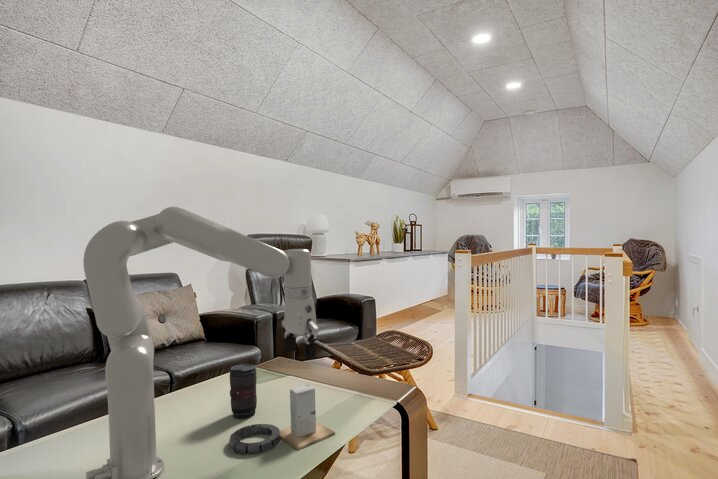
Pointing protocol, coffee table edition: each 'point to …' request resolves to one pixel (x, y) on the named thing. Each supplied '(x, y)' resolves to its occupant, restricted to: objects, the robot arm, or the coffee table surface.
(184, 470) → the coffee table surface
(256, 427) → the collar
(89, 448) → the coffee table surface
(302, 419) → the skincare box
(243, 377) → the camera lens
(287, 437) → the pad
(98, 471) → the robot arm
